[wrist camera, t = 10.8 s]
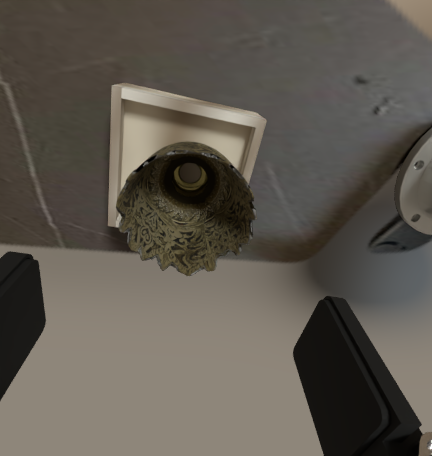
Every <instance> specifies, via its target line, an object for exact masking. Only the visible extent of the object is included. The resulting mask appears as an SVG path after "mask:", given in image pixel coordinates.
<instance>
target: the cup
mask: <svg viewBox="0 0 432 456" xmlns="http://www.w3.org/2000/svg"><path fill="white" fill-rule="evenodd" d="M186 163H194V164H196V165H197V166H198V167H199V168H200V171H201V175H200V178H199V179H198V180H197V181H196V182H193V183H187V182H185V181H184V180H182V178H181V177H180V168H181V167H182V166H183V165H184V164H186ZM125 182H126V183H125V185H124V187H123V188H122V190H121V192H120V194H119V196H118V199H117V202H116V209H117V211H118V213H120V215H121V217H122V218H121V220H120V222H119V232H120V233H126V232H128V231H129V232H128V245H129V247H130V249H131V250H132V251H134V252H136V251H138V253H139V254H140V257H141V259H142V260H149V259H154V258H155V257H156V258H157V261H158V264H159V266H160V268H161V269H162V271H164V270H165V269H167V268H168V266H170V265H171V266H173V267H175V268H176V269H177V271H178V272H181V273H183V274H185V275H187V276H191V275H193V274H195V273H197V272H198V271H201V270H203V269H205V270H206V271H214V270H215V268H216V267H217V259H218V258H219V257H221V256H224V257H225V256H226V255H227V254H228V253H229V252H230V251H232V252H234V253H235V255H236V256H237V255H239V254H240V252H241V245H248V244H250V243H251V240H252V237H253V229H252V220H257V214H256V209H255V208H254V206H253V204H252V201H254V196H253V193H252V191H251V189H250V186H249V185H248V182H247V181H246V179H245V178H244V177H243V176H242V175H241V173H240V172H239V171H238V170H237V169H236V168H235V167H234V166H233V164H232V163H231V162H230V161H229V160H228V159H227V158H226V157H225V156H224V155H222V154H221V153H220V152H219V151H217V150H215V149H214V148H212V147H210V146H208V145H205V144H202V143H198V142H190V141H186V142H177V143H174V144H170V145H168V146H165V147H163V148H162V149H160V150H158V151H157V152H155V153H154V154H153V155H151V156H150V157H149V158H148V159H147V160H145V161H144V162H143V163H142V164H141V165H140V166H139V167H138V168H137V169H135V170H134V171H132V173H131V174H130V175H129V176H128V178H127V179H126V181H125ZM128 229H129V230H128Z"/></svg>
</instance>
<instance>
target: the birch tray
mask: <svg viewBox="0 0 432 456" xmlns="http://www.w3.org/2000/svg"><path fill="white" fill-rule="evenodd" d="M266 121H267V120H265V119H264V118H263V117H261V116H260V115H259V114H257V113H255V112H251V111H246V110H242V109H238V108H233V107H229V106H224V105H220V104H216V103H211V102H207V101H203V100H198V99H194V98H189V97H185V96H181V95H176V94H172V93H167V92H163V91H159V90H154V89H150V88H145V87H141V86H137V85H132V84H128V83H121V84H117V85H112V96H111V133H110V169H109V206H108V226H112V227H119V222H120V220H121V218H122V217H121V215H120V213H118V211H117V209H116V202H117V199H118V196H119V194H120V192H121V190H122V188H123V187H124V185H125V183H126V182H125V181H126V179H127V178H128V176H129V175H130V174H131V173H132V171H134V170H135V169H137V168H138V167H139V166H140V165H141V164H142V163H143V162H144V161H145V160H147V159H148V158H149V157H150V156H151V155H153V154H154V153H155V152H157V151H158V150H160V149H162V148H163V147H165V146H168V145H170V144H174V143H177V142H186V141H190V142H198V143H202V144H205V145H208V146H210V147H212V148H214V149H215V150H217V151H219V152H220V153H221V154H222V155H224V156H225V157H226V158H227V159H228V160H229V161H230V162H231V163H232V164H233V166H234V167H235V168H236V169H237V170H238V171H239V172H240V173H241V175H242V176H243V177H244V178H245V179H246V181H247V182H248V184H249V181H250V177H251V174H252V170H253V167H254V163H255V160H256V156H257V153H258V149H259V146H260V142H261V139H262V135H263V132H264V128H265V125H266ZM200 175H201V171H200V168H199V167H198V166H197V165H196V164H194V163H186V164H184V165H183V166H182V167H181V168H180V177H181V178H182V180H184V181H185V182H187V183H193V182H196V181H197V180H198V179H199V178H200Z"/></svg>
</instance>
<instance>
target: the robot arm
mask: <svg viewBox="0 0 432 456" xmlns="http://www.w3.org/2000/svg"><path fill="white" fill-rule="evenodd" d="M395 204H396V209H397V211H398V213H399V215H400V217H401V218H402V219H403V220H404V221H405V222H406V223H407V224H408V225H410V226H411V227H412V228H414V229H415V230H417V231H419V232H422V233H424V234H428V235H432V128H431V129H430V130H429V131H428V132H427V133H425V134H424V135H423V136H422V137H421V138H420V140H419V141H418V142H417V143H416V145H415V146H414V147H413V148H412V150H411V151H410V152H409V154H408V156H407V157H406V159H405V161H404V162H403V164H402V167H401V169H400V171H399V174H398V176H397V181H396V185H395ZM45 322H46V319H45V311H44V303H43V294H42V287H41V278H40V270H39V263H38V261H37V260H34V259H33V256H32V255H30V254H24V253H17V252H7V253H6V254H5V255H3V256H2V257H1V258H0V400H1V399H2V397H3V395H4V394H5V392H6V390H7V389H8V387H9V386H10V384H11V382H12V381H13V379H14V377H15V376H16V374H17V373H18V371H19V369H20V368H21V366H22V364H23V363H24V361H25V359H26V358H27V356H28V355H29V353H30V351H31V350H32V348H33V346H34V345H35V343H36V341H37V340H38V338H39V336H40V335H41V333H42V331H43V329H44V327H45ZM293 357H294V360H295V364H296V367H297V370H298V373H299V377H300V380H301V383H302V386H303V389H304V393H305V396H306V399H307V402H308V405H309V409H310V412H311V415H312V418H313V422H314V425H315V428H316V431H317V435H318V438H319V441H320V444H321V447H322V451H323V454H324V456H432V432H426V433H425V434H422V433H421V431H420V429H419V427H420V426H421V425H422V424H421V422H420V421H419V419H418V418H417V416H416V414H415V413H414V411H413V410H412V408H411V406H410V405H409V403H408V401H407V400H406V398H405V396H404V395H403V393H402V391H401V390H400V388H399V387H398V385H397V383H396V382H395V380H394V378H393V377H392V375H391V374H390V372H389V370H388V369H387V367H386V366H385V364H384V362H383V360H382V359H381V357H380V355H379V354H378V352H377V351H376V349H375V347H374V346H373V344H372V343H371V341H370V339H369V337H368V336H367V334H366V333H365V331H364V329H363V328H362V326H361V324H360V323H359V321H358V320H357V318H356V316H355V315H354V313H353V311H352V310H351V308H350V306H349V305H348V303H347V302H346V300H345V299H343V298H337V297H331V296H326V297H325V298H324V299H323V300H320V301H319V302H318V304H317V306H316V308H315V310H314V312H313V314H312V315H311V317H310V319H309V321H308V323H307V325H306V327H305V329H304V330H303V333H302V334H301V336H300V338H299V339H298V341H297V343H296V345H295V347H294V351H293Z"/></svg>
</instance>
